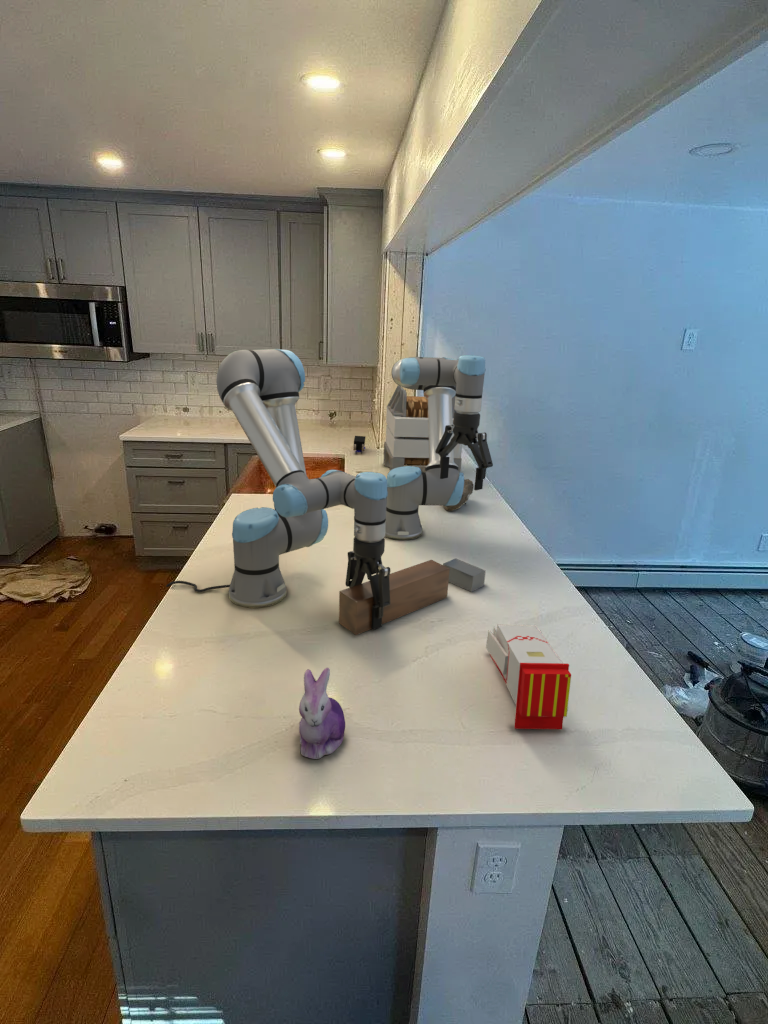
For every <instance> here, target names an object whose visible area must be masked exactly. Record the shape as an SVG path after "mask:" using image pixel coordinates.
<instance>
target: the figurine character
mask: <svg viewBox="0 0 768 1024" xmlns="http://www.w3.org/2000/svg"><path fill="white" fill-rule="evenodd" d="M366 438H367V437H366V436H365V435H354V438H353V446H352V447H353V448H352V449H353V451H355V454H358V453H360V454H361V455H362V454H363V452H364V451H365V450H366V446H365V444H366Z"/></svg>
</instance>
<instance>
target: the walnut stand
mask: <svg viewBox="0 0 768 1024" xmlns="http://www.w3.org/2000/svg"><path fill="white" fill-rule="evenodd" d="M449 570H450V568H448V567H446V566H444V565H443V564H441V563H439V562H438V561H435V560H433V559H429V560H426V561H424V562H420V563H418V564H415V565H412V566H409V567H406V568H403V569H400V570H396V571H394V572H390V575H389V583H390V605H388V606H386V607H384V613H383V617H382V625H384V624H387V623H389V622H392V621H395V620H397V619H399V618H401V617H404V616H406V615H409V614H411V613H413V612H416V611H418V610H421V609H424V608H426V607H428V606H430V605H433V604H435V603H438V602H441V601H442V600H446V599H447V598H448V591H449V582H448V581H449ZM338 593H339V594H338V595H339V597H338V598H339V599H338V624H339V625H341V626H342V627H343V628H345V629H347V630H348V631H349V632H350V633H352V634H353V635H355V636H357V635H361V634H363V633H365V632H367V631H369V630H372V629H371V624H372V605H375V604H374V599H373V594H372V589H371V584H370V580H368V581H365V582H362V584H359V585H356V586H353V587H350V588H349V587H347V588H345V589H342V590H339V592H338Z"/></svg>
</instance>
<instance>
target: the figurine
mask: <svg viewBox="0 0 768 1024" xmlns="http://www.w3.org/2000/svg"><path fill="white" fill-rule="evenodd" d="M330 676H331V669H330V668H329V667H326V668H324V669H323V670H322V671H321V673H320V675H319V677H318V678H317V680H316V678H315V676H314V674H313V672H312V670H311V669H309V668H307V669H306V670H305V671H304V674H303V686H304V693H303V695H302V697H301V700H300V702H299V706H298V707H299V708H298V711H299V715H300V717H301V719H300V721H299V723H298V724H299V725H298V733H299V745H300V754H301V755H302V756H303V757H305V758H308V759H313V760H319V759H321V758H322V757H324V756H328V755H331V754H333V753H334V752H336V750H337V749H338V748H339V747H340V746H341V745H342V743H343V741H344V737H345V731H346V719H345V713H344V710H343V707H342V705H341V704H340V703H339V701H338V700H336V698H334V697H330V696H329V695H328V693H327V688H328V684H329V680H330Z"/></svg>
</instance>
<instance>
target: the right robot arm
mask: <svg viewBox="0 0 768 1024" xmlns="http://www.w3.org/2000/svg"><path fill="white" fill-rule="evenodd" d="M485 373H486V358H485V357H483V356H481V355H473V354H471V355H469V354H466V355H465V354H463V355H460V356H459V357H458V358H456V359H454V358H451V357H445V356H443V357H431V356H430V357H428V356H409V357H404V358H400V359H399V360H397V361H396V362H394V364H393V365H392V367H391V378H392V380H393V382H394V383H395V384H396V385H397V386H398V385H399V386H401V387H402V388H403V389H408V390H413V391H423V394H422V395H423V397H425V398H426V399H427V400H428V427H429V464H428V465H427V466H424V471H422V469H421V467H420V466H407V465H404V466H403V467H398V468H394V469H392V470H391V471H390V470H388V473H387V475H386V479H387V491H388V495H387V503H386V528H385V537H384V538H387V539H389V540H395V541H410V540H415V539H418V538H420V537H421V536H422V535H423V525H422V524H421V518H420V515H419V507H420V506H442V507H443V506H450V505H457V504H458V503H459V502H460V500H461V497H462V493H463V488H464V479H465V474H464V473H463V472H462V471H461V472H459V471H458V466H457V465H456V464H455V463H454V453H453V449H454V447H455V446H456V445H457V444H462V446H467V448H468V449H470V452H471V454H472V457H473V458H474V460H475V462H476V465H477V467H476V469H475V477H474V479H475V480H474V487H473V491H480V490H483V486H484V480H485V479H486V476H487V469H488V468H493V466H494V463H493V459H492V455H491V452H490V448H489V443H488V441H487V440H488V439H487V438H488V434H487V432H485V431H484V432H479V430H478V429H479V427H480V422H481V414H480V413H481V412H482V403H483V392H484V383H485ZM454 396H455V407H454V409H455V410H456V412H455V413H454V417H453V422H452V398H453V397H454ZM453 424H454V425H453ZM453 433H454V436H453Z"/></svg>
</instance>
